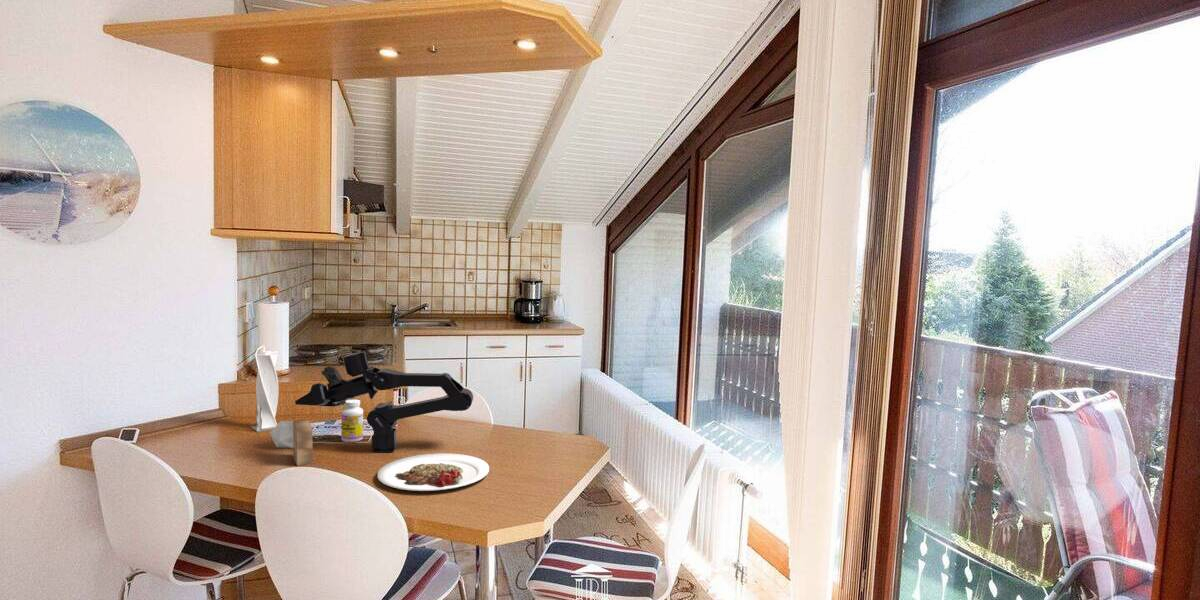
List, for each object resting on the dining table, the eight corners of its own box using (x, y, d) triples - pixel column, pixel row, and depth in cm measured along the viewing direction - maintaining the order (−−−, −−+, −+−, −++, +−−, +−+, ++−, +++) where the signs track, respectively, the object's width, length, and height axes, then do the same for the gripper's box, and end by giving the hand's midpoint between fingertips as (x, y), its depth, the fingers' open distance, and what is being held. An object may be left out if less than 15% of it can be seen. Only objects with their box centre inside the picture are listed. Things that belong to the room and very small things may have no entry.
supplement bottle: (337, 441, 209) (336, 402, 209) (349, 436, 216) (349, 398, 215) (355, 443, 208) (355, 404, 207) (367, 438, 214) (367, 399, 213)
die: (281, 454, 197) (302, 427, 200) (259, 438, 198) (280, 412, 201) (292, 455, 205) (312, 429, 208) (271, 441, 206) (291, 415, 209)
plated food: (422, 454, 199) (423, 443, 199) (508, 468, 189) (508, 456, 188) (352, 485, 172) (352, 473, 171) (448, 504, 161) (448, 490, 160)
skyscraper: (250, 426, 224) (249, 346, 222) (275, 423, 230) (274, 344, 228) (257, 432, 218) (256, 349, 216) (282, 428, 223) (282, 347, 222)
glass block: (308, 455, 195) (307, 419, 194) (312, 464, 187) (312, 426, 186) (293, 457, 193) (293, 421, 192) (297, 466, 185) (297, 428, 184)
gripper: (356, 365, 210) (308, 379, 209) (335, 360, 192) (282, 375, 190) (364, 399, 208) (315, 413, 207) (344, 396, 190) (290, 412, 189)
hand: (301, 403), depth 198 cm, fingers open, 9 cm apart
